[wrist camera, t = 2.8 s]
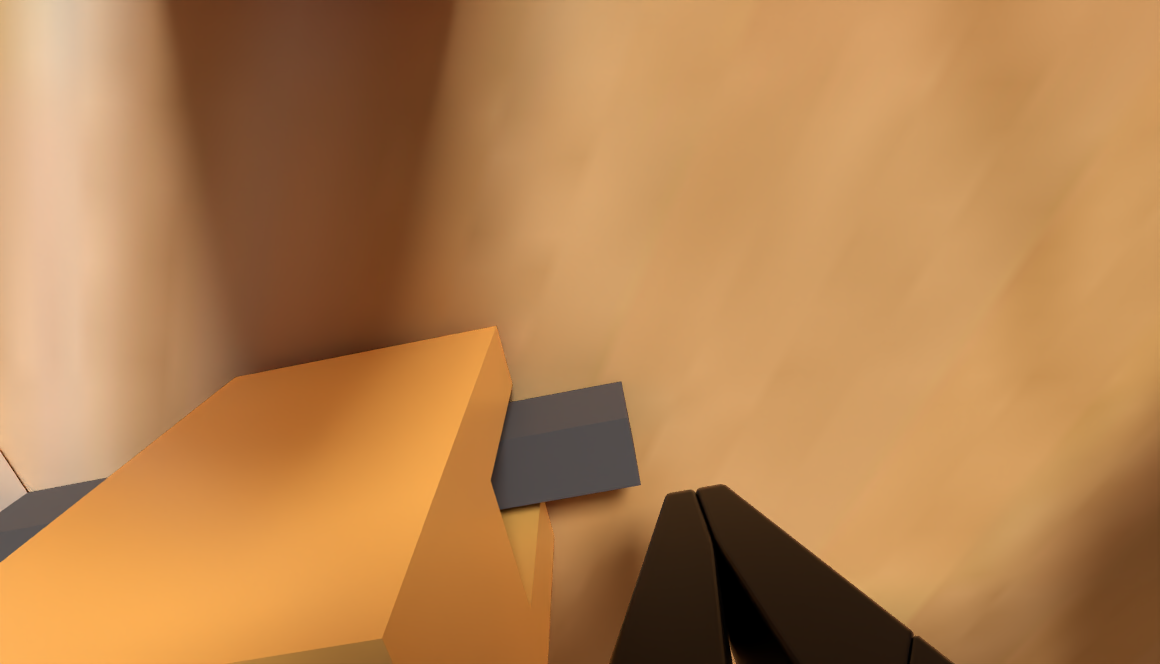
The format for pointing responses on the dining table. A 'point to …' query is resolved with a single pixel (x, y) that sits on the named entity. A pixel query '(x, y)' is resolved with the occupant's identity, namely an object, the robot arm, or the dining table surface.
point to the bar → (521, 470)
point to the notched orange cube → (302, 528)
